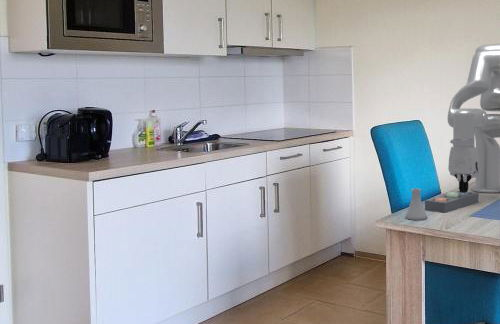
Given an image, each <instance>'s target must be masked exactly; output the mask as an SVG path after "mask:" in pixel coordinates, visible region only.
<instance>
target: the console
mask: <svg viewBox="0 0 500 324" xmlns="http://www.w3.org/2000/svg"><path fill="white" fill-rule="evenodd" d="M456 192H460V190H457V191H456ZM468 192H469V194H468V195H461V194H458V198H448V197H447V193H445V194H442V195H439V196H436V197H432V198H429V199H425V200H424V210H425V211H429V210H430V211H431V212H436V211H437V213H443V212H444V213H445V212H446V213H449V212H453V211H455V210H458V208H459V209H462V208H465V207H468V206H471V205H474V204H478V203H479V195H480V194H479V193H480V192H474V191H473V192H471V191H468ZM435 198H446V199H447V201H444V202H441V201H435ZM448 211H449V212H448Z"/></svg>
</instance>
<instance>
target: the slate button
mask: <svg viewBox="0 0 500 324" xmlns="http://www.w3.org/2000/svg"><path fill="white" fill-rule="evenodd" d="M469 192H470V191H467V192H464V193H463V192H458V194H461V195H468V194H469Z"/></svg>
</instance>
